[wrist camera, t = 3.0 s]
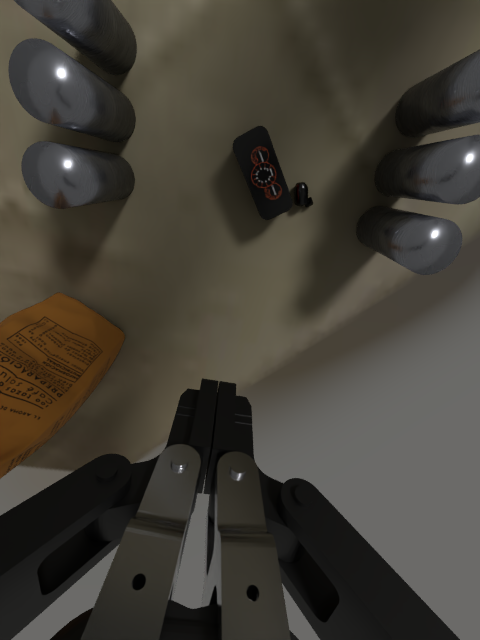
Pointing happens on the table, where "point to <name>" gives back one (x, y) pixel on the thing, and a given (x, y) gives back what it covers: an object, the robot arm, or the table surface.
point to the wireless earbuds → (266, 175)
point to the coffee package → (49, 371)
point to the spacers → (119, 121)
